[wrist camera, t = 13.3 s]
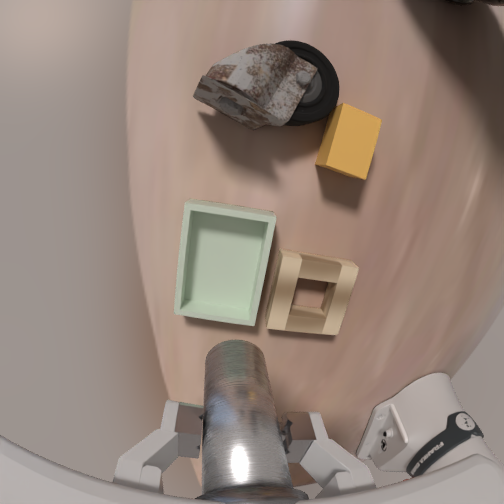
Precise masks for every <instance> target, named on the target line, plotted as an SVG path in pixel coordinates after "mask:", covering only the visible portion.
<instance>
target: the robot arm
mask: <svg viewBox="0 0 504 504" xmlns="http://www.w3.org/2000/svg"><path fill="white" fill-rule="evenodd" d="M203 408H204V406H201V405H194V404H188V403H183V402H177V401H171V400H167V401H166V404H165V409H164V414H163V418H162V423H161V428H160V429H156V430H155V431H153V432H152V433H151V434H150V435H148V436H147V437H146V438H145V439H143V440H142V441H141V442H139V443H138V444H137V445H135V446H134V447H133V448H131V449H130V450H129V451H127V452H126V453H125V454H123V455H122V456H121V457H120V458H119V460H118V464H117V467H116V471H115V475H114V479H113V482H109V481H105V480H102V479H98V478H95V477H92V476H89V475H86V474H83V473H81V472H78V471H75V470H73V469H70V468H67V467H65V466H62V465H60V464H57V463H55V462H53V461H50V460H48V459H46V458H44V457H41V456H39V455H37V454H35V453H33V452H31V451H29V450H27V449H25V448H23V447H21V446H19V445H17V444H15V443H13V442H11V441H10V440H8V439H6V438H5V437H3V436H1V435H0V504H225V503H223V502H219V501H212V500H201V499H192V498H184V497H177V496H170V495H165V494H164V492H163V482H162V473H163V472H164V471H165V470H166V469H167V468H168V467H169V466H170V465H171V464H172V463H173V462H174V461H175V460H176V459H177V458H178V456H181V457H189V458H199V452H200V444H201V435H202V423H203V422H202V419H203ZM279 427H280V432H281V436H282V441H283V445H284V450H285V454H286V459H287V463H300V464H301V466H302V467H303V468H304V469H305V470H306V471H307V472H308V473H309V474H310V475H311V476H312V477H313V479H314V480H315V481H316V482H317V483H318V484H319V485H320V486H321V487H322V488H323V490H322V491H321V492H320V493H319V494H318V495H317V496H316V498H315V499H309V500H300V501H298V502H297V503H296V504H504V465H503V464H502V463H501V461H500V460H499V459H498V458H497V457H496V456H495V454H494V453H493V452H492V450H491V449H490V448H489V447H488V445H487V444H486V442H485V441H484V439H483V437H484V435H483V433H482V432H481V430H480V428H479V427H478V425H477V424H476V423H475V421H474V420H473V419H472V418H471V417H470V416H469V415H468V414H467V413H466V412H465V410H464V409H463V407H462V405H461V403H460V401H459V399H458V397H457V395H456V393H455V391H454V388H453V385H452V383H451V379H450V377H449V376H448V375H447V374H445V373H433V374H430V375H427V376H424V377H422V378H420V379H418V380H416V381H414V382H413V383H411V384H410V385H408V386H407V387H405V388H404V389H403V390H401V391H400V392H399V393H398V394H397V395H395V396H394V397H392V398H391V399H389V400H387V401H384V402H383V403H381V404H379V405H377V406H376V407H375V408H374V410H373V412H372V415H371V417H370V420H369V423H368V425H367V428H366V430H365V433H364V435H363V438H362V440H361V443H360V445H359V447H358V450H357V452H356V455H357V457H358V458H361V459H372V460H373V462H374V464H375V465H376V467H377V468H378V469H380V470H382V471H390V472H407V473H408V474H409V475H410V476H412V477H413V478H411V479H406V480H403V481H401V482H398V483H394V484H391V485H387V486H383V487H379V488H376V485H375V483H374V480H373V478H372V475H371V473H370V470H369V468H368V467H367V466H366V465H365V464H363V463H362V462H361V461H359V460H358V459H357V458H355V457H354V456H353V455H352V454H350V453H349V452H348V451H346V450H345V449H344V448H342V447H341V446H340V445H339V444H337V443H336V442H335V441H334V440H332V439H329V438H328V435H327V432H326V429H325V426H324V423H323V420H322V417H321V415H320V413H319V412H284V413H283V415H282V422H281V423H279Z"/></svg>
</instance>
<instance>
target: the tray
mask: <svg viewBox="0 0 504 504" xmlns="http://www.w3.org/2000/svg"><path fill="white" fill-rule="evenodd" d="M275 223H276V216H275V214H274V213H273V212H272V211H266V210H260V209H254V208H248V207H242V206H236V205H230V204H224V203H217V202H211V201H204V200H197V199H189V200H188V201H186V202H185V206H184V214H183V222H182V231H181V239H180V249H179V258H178V269H177V280H176V292H175V305H174V314H177V315H183V316H189V317H195V318H201V319H207V320H214V321H220V322H227V323H234V324H242V325H249V326H254V325H255V321H256V316H257V311H258V306H259V302H260V297H261V292H262V287H263V282H264V277H265V273H266V268H267V263H268V258H269V253H270V248H271V243H272V238H273V233H274V228H275Z"/></svg>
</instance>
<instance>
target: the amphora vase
mask: <svg viewBox="0 0 504 504" xmlns="http://www.w3.org/2000/svg"><path fill="white" fill-rule="evenodd" d="M445 1H448V2H450V3H453V4H457V5H469V4H471V3H472V2H474V1H475V0H445ZM476 1H479V2H482V3H486V4H489V5H493V6H504V0H476Z"/></svg>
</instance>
